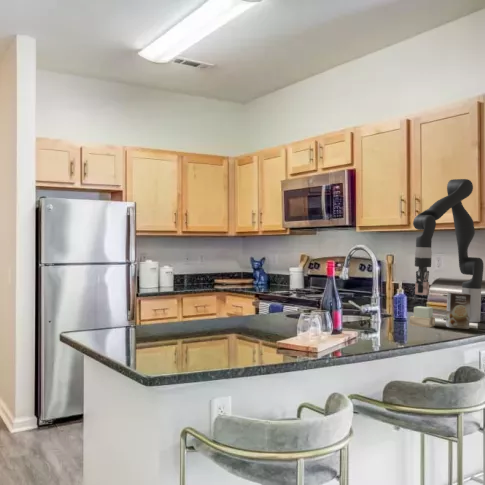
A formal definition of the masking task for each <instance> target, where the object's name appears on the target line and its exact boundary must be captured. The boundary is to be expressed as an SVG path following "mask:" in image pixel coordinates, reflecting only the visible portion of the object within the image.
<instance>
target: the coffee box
mask: <svg viewBox="0 0 485 485" xmlns="http://www.w3.org/2000/svg"><path fill="white" fill-rule="evenodd" d="M446 298H447V299H446V315H445V326H446V327H447V328H449V329H464V330H465V329H466V330H468V329H470V322H469V319H470V298H471V295H470V294H462V292H461V293H458V292H447V297H446Z"/></svg>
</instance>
